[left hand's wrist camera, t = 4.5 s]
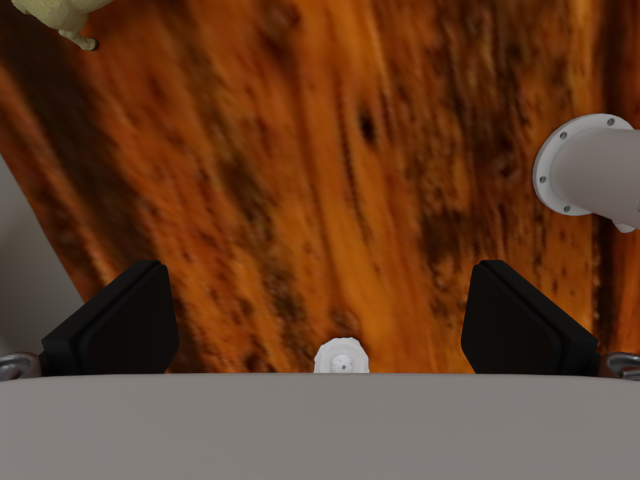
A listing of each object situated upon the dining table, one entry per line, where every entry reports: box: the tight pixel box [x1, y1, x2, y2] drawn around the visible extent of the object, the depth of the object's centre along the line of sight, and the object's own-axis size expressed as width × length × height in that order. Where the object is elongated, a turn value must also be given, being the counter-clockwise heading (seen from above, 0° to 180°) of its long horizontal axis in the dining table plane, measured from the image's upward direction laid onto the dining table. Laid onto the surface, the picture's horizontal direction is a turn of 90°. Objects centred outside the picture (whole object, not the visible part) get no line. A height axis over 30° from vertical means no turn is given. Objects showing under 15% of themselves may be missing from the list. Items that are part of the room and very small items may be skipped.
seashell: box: [314, 337, 369, 373], centre depth 53 cm, size 8×5×8 cm
